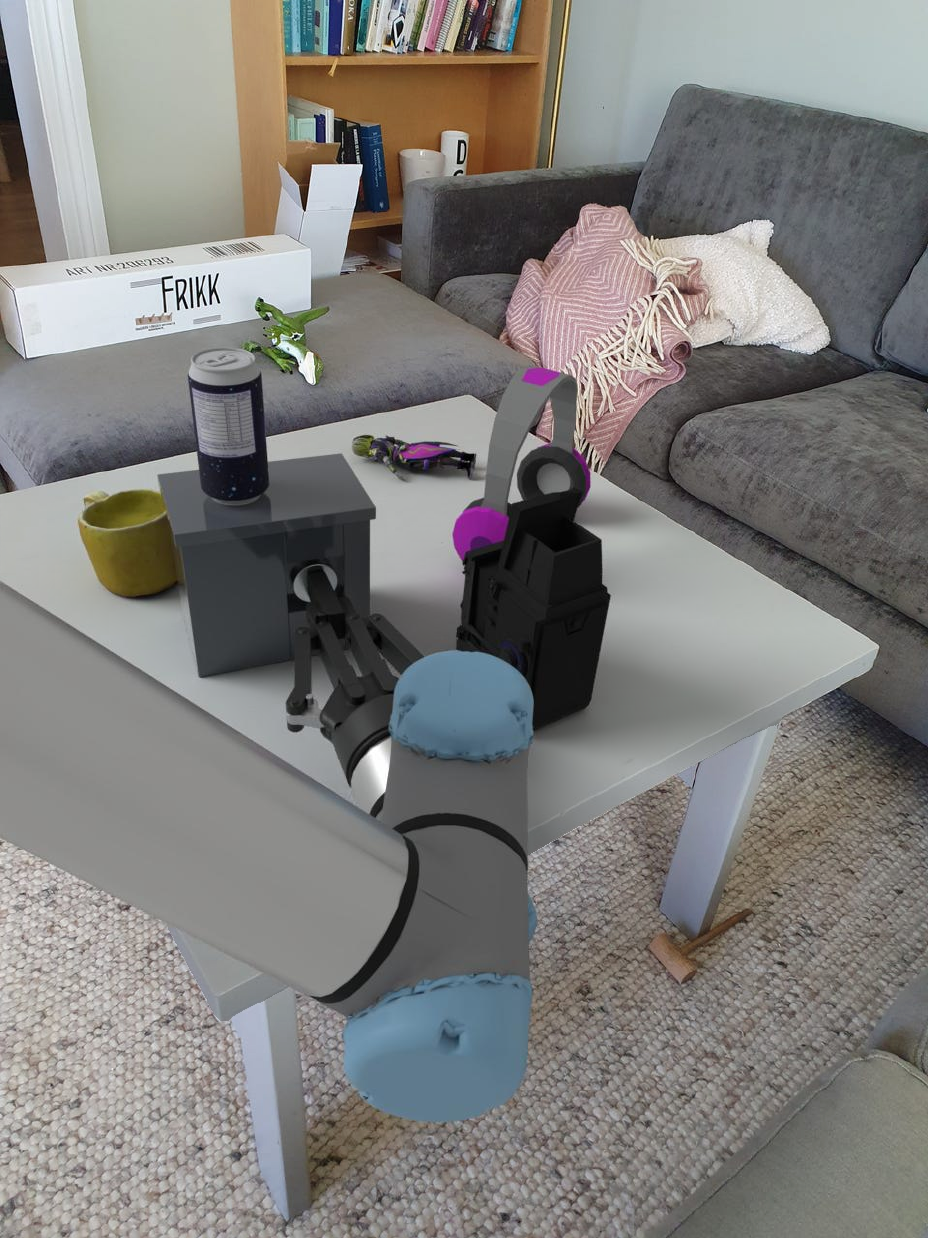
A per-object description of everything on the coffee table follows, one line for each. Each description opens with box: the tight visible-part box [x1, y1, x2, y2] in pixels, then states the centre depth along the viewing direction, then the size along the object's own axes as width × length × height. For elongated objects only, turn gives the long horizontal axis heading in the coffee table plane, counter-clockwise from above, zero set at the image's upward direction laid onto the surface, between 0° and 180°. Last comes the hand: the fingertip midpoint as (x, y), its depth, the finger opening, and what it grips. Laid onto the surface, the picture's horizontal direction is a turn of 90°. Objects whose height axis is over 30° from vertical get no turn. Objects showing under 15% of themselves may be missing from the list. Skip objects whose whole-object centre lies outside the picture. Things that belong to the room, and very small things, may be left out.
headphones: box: [452, 364, 592, 562], centre depth 99 cm, size 21×9×20 cm, turn 152°
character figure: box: [351, 434, 477, 482], centre depth 117 cm, size 9×4×16 cm
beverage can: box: [187, 346, 269, 506], centre depth 75 cm, size 6×6×12 cm
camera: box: [455, 487, 612, 732], centre depth 78 cm, size 10×14×20 cm
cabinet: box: [156, 452, 377, 678], centre depth 84 cm, size 17×11×15 cm, turn 112°
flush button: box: [290, 558, 337, 602], centre depth 82 cm, size 4×1×4 cm, turn 112°
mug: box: [77, 488, 178, 598], centre depth 93 cm, size 12×10×10 cm
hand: (317, 585), depth 81 cm, fingers closed
